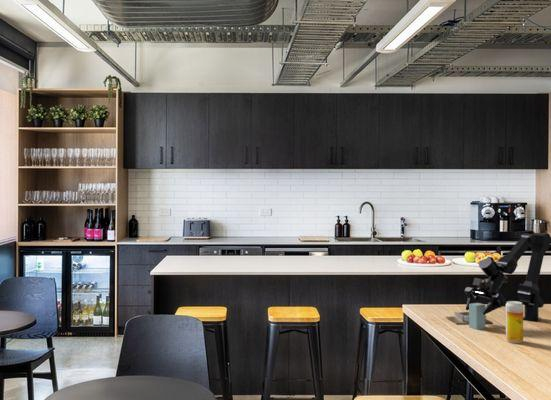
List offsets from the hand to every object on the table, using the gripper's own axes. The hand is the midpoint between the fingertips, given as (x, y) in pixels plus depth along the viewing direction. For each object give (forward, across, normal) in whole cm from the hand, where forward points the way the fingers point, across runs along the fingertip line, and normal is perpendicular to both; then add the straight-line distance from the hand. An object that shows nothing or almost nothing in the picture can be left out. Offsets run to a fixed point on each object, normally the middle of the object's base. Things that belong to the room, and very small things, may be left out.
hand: (474, 311), depth 221 cm
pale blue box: (+4, 0, +6) cm, 7 cm away
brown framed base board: (0, -11, +10) cm, 15 cm away
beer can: (+6, +21, +4) cm, 23 cm away
